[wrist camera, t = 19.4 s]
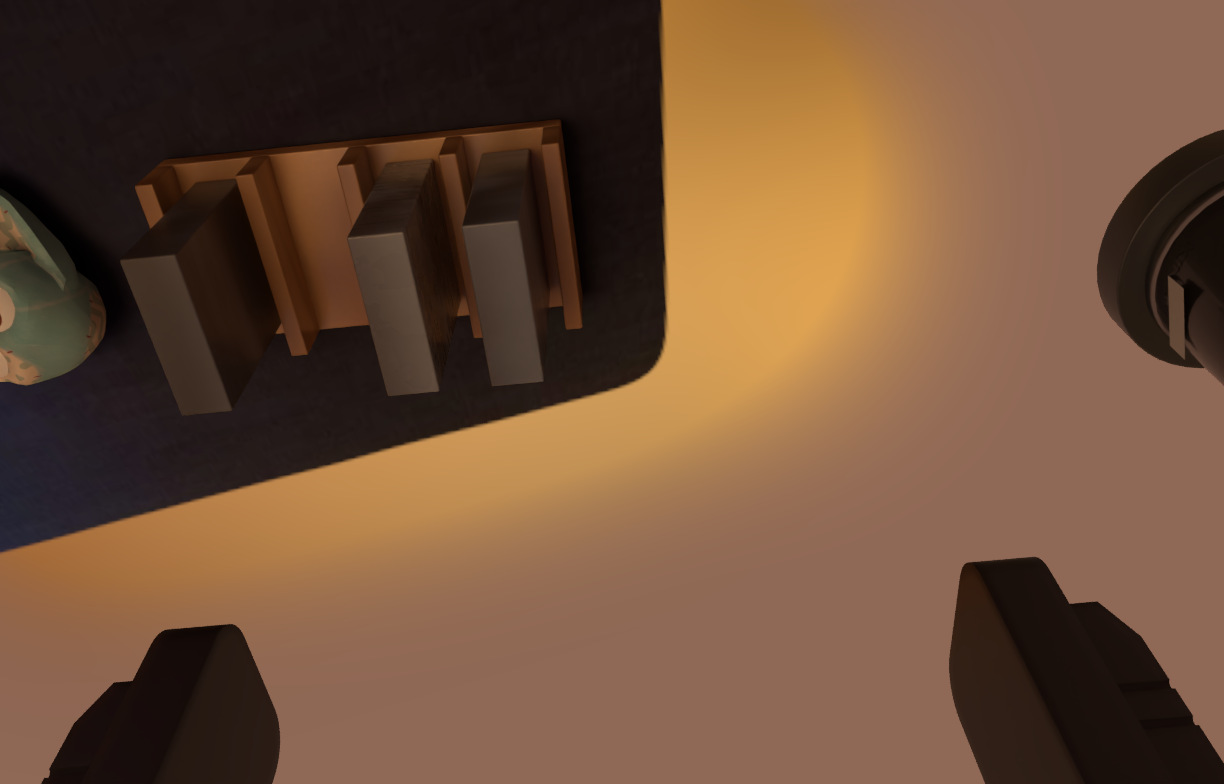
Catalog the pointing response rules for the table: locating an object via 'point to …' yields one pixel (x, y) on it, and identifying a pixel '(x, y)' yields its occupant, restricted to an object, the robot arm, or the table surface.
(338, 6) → the table surface
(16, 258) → the stuffed animal
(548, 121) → the brown wooden rack
